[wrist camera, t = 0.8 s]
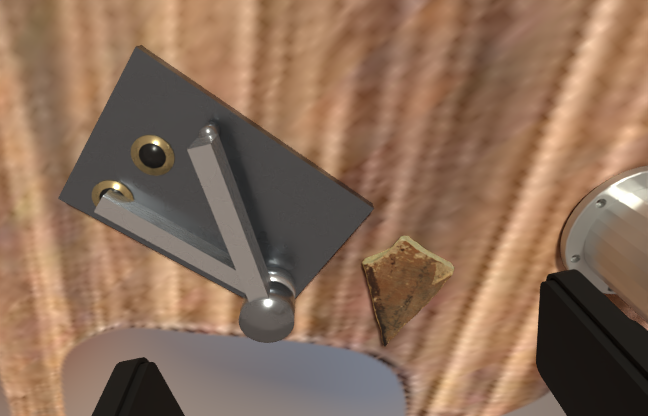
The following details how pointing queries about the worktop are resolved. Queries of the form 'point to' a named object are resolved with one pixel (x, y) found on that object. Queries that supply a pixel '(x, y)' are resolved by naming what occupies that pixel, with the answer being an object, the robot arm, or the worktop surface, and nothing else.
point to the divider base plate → (186, 190)
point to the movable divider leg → (241, 243)
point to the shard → (403, 283)
